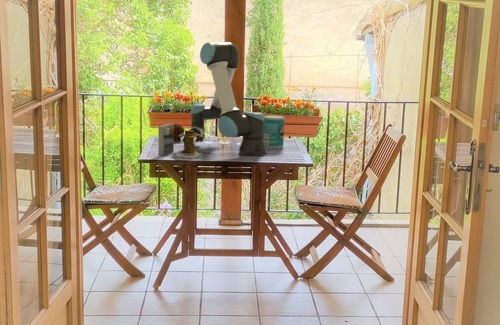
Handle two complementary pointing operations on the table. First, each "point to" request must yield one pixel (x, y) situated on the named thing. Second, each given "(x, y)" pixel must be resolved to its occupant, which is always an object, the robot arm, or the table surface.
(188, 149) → the condiment
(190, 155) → the tile
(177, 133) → the muffin
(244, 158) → the table surface
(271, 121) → the food can
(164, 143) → the breaker box
